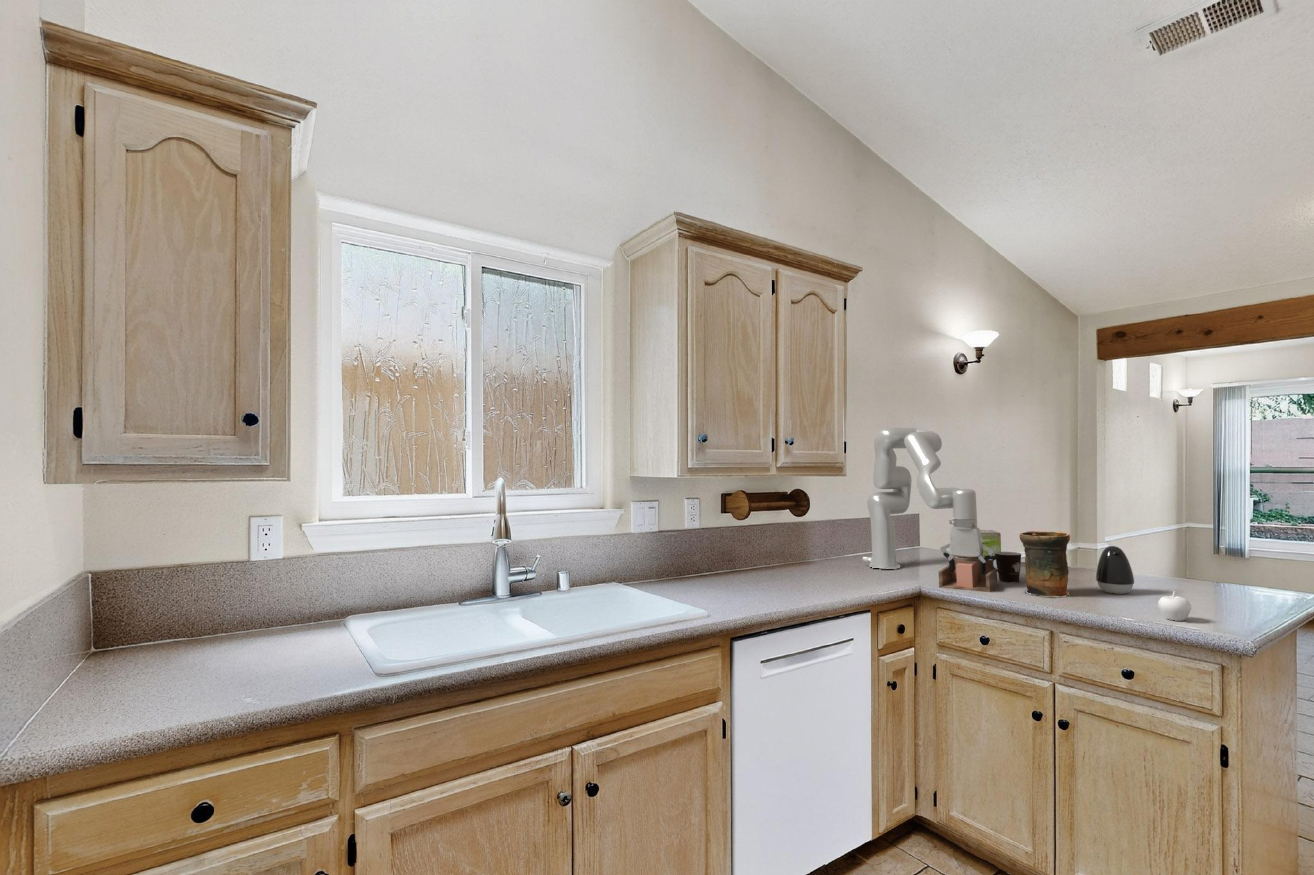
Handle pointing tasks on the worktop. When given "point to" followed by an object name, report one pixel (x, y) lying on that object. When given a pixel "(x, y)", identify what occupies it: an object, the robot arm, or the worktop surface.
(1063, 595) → the vessel
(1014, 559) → the coffee mug
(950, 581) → the stand
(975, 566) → the salmon pink block
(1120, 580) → the black rounded egg shape
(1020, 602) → the worktop surface
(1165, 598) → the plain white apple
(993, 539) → the tea box
